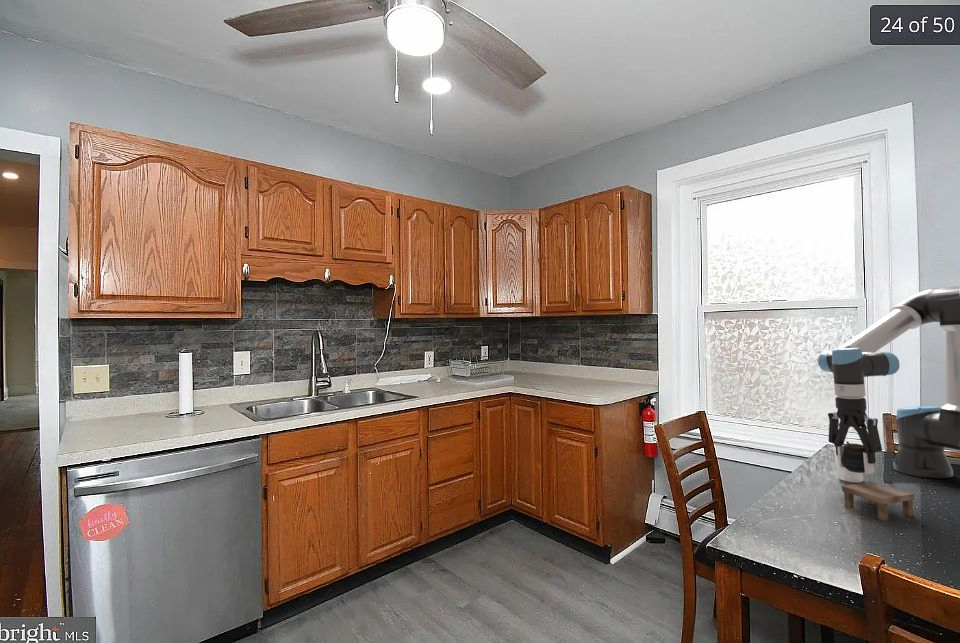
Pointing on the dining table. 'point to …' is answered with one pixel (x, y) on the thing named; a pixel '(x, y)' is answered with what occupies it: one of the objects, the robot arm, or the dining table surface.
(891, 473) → the dining table surface
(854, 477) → the white cup
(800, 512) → the dining table surface
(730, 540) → the dining table surface
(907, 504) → the walnut stool
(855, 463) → the mate gourd
